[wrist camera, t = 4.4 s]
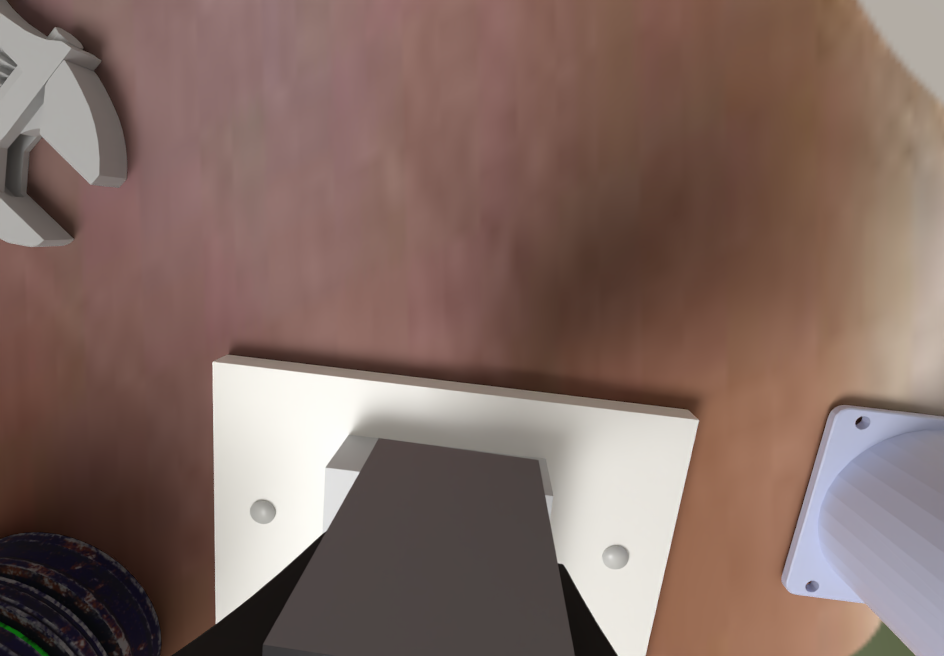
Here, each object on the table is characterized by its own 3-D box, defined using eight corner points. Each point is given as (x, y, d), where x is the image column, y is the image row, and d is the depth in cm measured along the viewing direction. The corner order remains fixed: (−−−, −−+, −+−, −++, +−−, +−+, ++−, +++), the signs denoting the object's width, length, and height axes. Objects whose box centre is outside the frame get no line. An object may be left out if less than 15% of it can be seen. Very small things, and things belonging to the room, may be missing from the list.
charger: (538, 459, 12) (583, 698, 6) (515, 597, 13) (533, 929, 7) (378, 438, 12) (259, 650, 6) (366, 576, 13) (251, 884, 7)
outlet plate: (688, 409, 18) (732, 452, 15) (631, 665, 21) (658, 752, 17) (227, 354, 19) (166, 383, 15) (228, 611, 21) (177, 685, 18)
